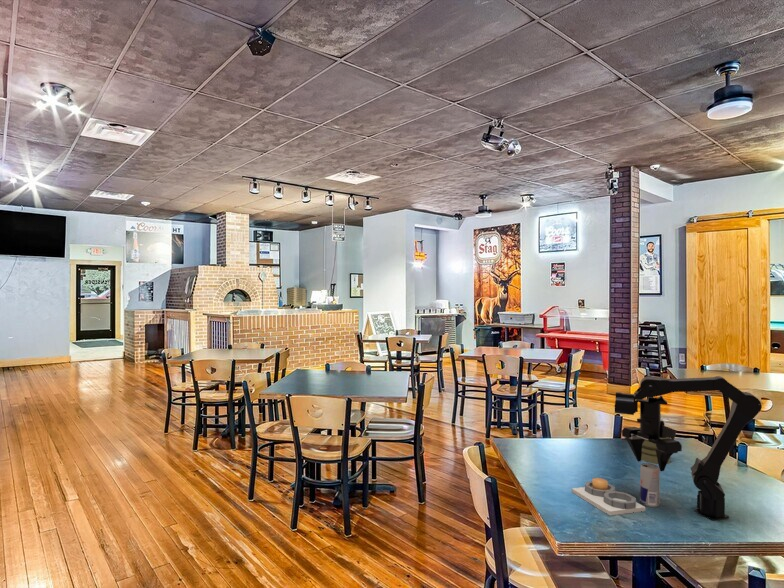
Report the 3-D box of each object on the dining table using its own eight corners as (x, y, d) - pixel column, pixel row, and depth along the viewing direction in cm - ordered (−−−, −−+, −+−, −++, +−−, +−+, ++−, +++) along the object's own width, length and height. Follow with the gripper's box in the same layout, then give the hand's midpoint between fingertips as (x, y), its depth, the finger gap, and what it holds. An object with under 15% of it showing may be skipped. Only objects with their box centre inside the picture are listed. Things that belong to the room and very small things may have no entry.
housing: (645, 511, 145) (645, 495, 145) (609, 515, 141) (609, 499, 142) (604, 488, 162) (604, 474, 162) (571, 492, 159) (571, 477, 159)
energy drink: (642, 498, 154) (642, 461, 154) (660, 503, 151) (661, 465, 151) (638, 504, 150) (638, 466, 150) (657, 509, 146) (657, 470, 147)
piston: (665, 435, 186) (634, 429, 194) (665, 466, 186) (634, 459, 193) (673, 430, 194) (643, 425, 202) (673, 459, 194) (643, 453, 202)
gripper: (696, 422, 144) (696, 474, 144) (648, 409, 162) (648, 454, 162) (666, 424, 141) (666, 477, 141) (620, 410, 159) (620, 457, 159)
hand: (650, 466), depth 150 cm, fingers open, 9 cm apart
